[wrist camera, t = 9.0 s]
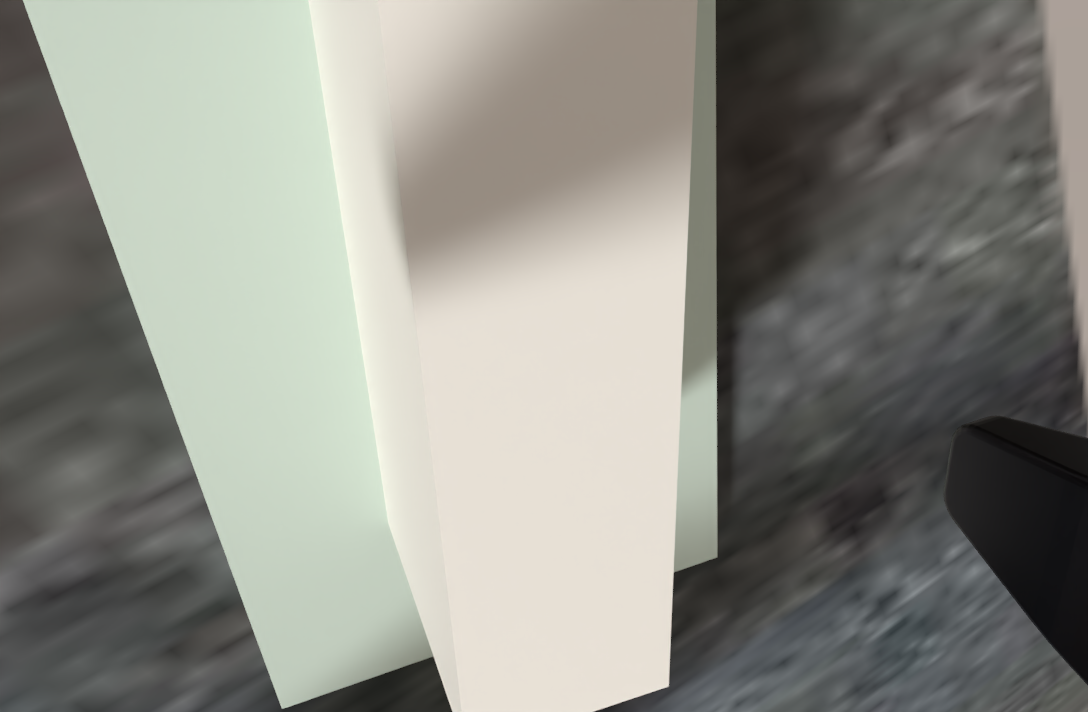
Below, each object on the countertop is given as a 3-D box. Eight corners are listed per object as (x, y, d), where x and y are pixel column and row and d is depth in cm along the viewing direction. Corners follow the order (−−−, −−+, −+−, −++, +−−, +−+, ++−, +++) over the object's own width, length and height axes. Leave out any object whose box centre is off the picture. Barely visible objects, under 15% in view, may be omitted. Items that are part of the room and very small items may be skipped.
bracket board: (698, 533, 24) (783, 640, 21) (277, 676, 21) (298, 826, 18) (675, -860, 12) (868, -1132, 9) (-306, -945, 9) (-566, -1391, 6)
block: (544, 483, 20) (668, 686, 15) (388, 523, 19) (467, 753, 14) (501, -465, 12) (726, -680, 7) (234, -481, 11) (291, -737, 6)
